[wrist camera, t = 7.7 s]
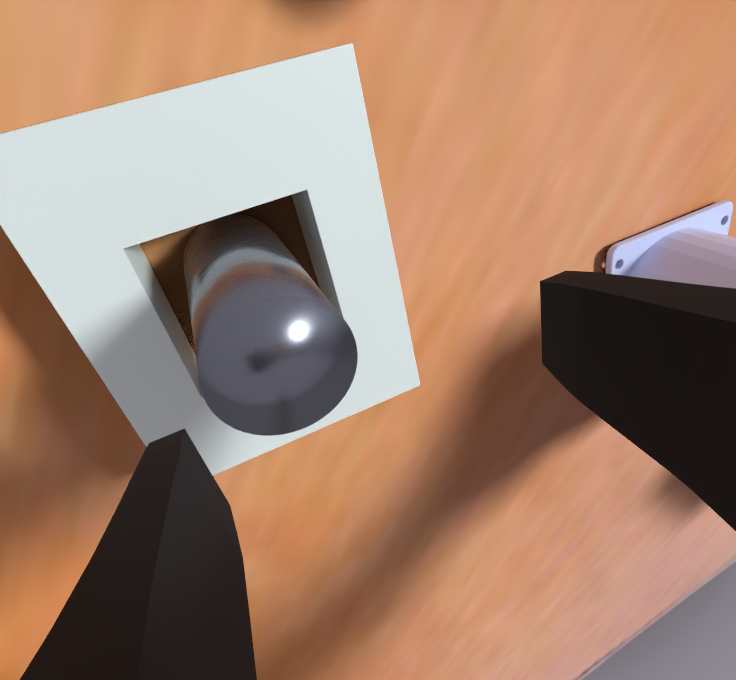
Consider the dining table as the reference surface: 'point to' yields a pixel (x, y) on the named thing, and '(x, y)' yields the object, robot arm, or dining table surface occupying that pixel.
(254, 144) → the board
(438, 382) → the dining table surface
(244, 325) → the pin long
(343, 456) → the dining table surface
